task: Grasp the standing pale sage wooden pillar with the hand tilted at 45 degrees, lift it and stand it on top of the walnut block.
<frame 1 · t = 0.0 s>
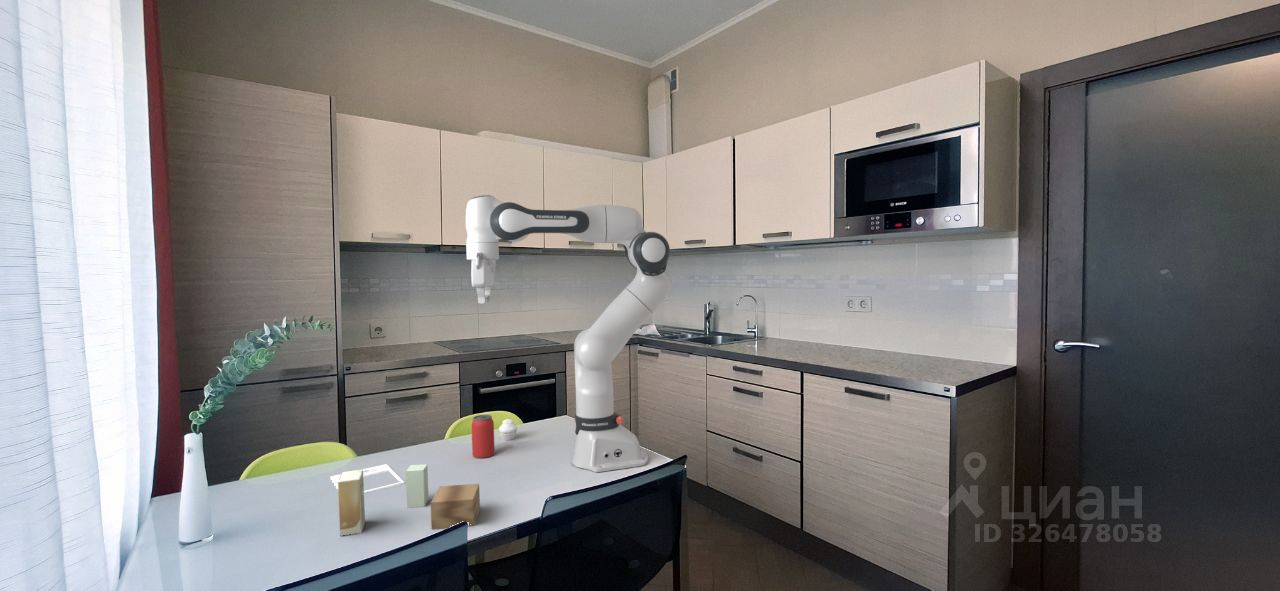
hand: (484, 302, 151), 48 cm above the table, tool pointing down, fingers open, 8 cm apart
walnut block: (456, 518, 122), on the table
sage pillar: (418, 503, 131), on the table
muffin: (508, 439, 180), on the table
photo frame: (366, 483, 146), on the table
beer can: (483, 455, 165), on the table
skincare box: (353, 529, 118), on the table
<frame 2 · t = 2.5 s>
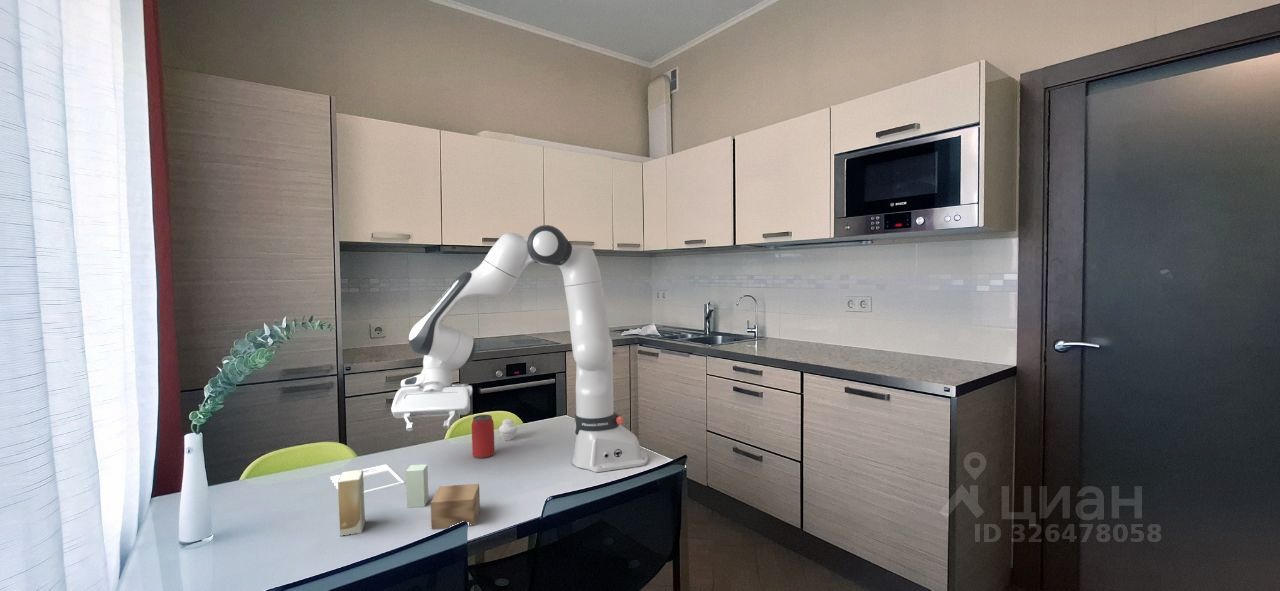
hand: (428, 429, 142), 15 cm above the table, tool tilted 45°, fingers open, 8 cm apart
nothing on the table moved.
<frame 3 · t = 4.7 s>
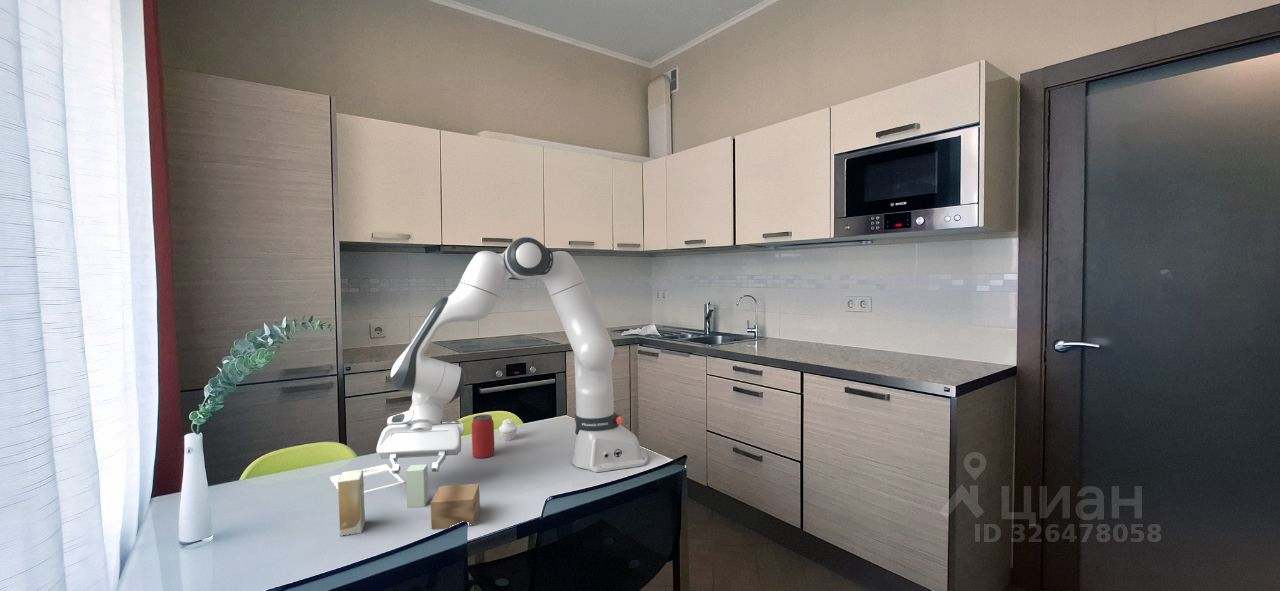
hand: (415, 471, 132), 7 cm above the table, tool tilted 45°, fingers open, 8 cm apart
nothing on the table moved.
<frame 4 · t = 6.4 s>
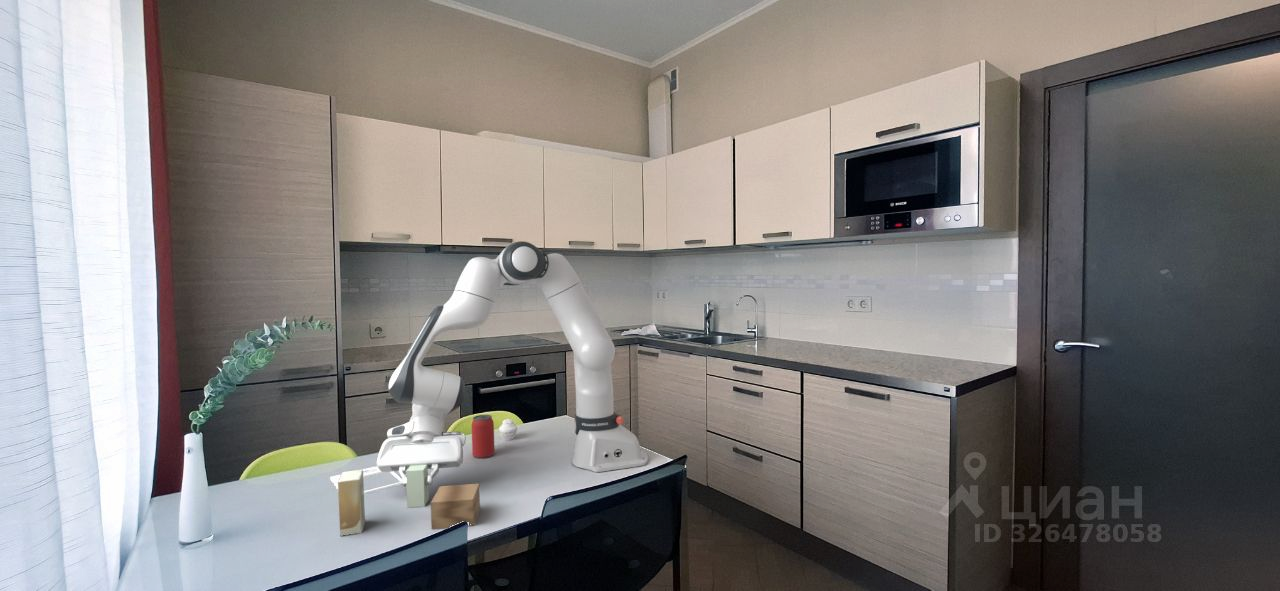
hand: (416, 485, 130), 5 cm above the table, tool tilted 45°, fingers closed on sage pillar, 4 cm apart
sage pillar: (418, 503, 131), on the table, touching gripper
everything else where it was.
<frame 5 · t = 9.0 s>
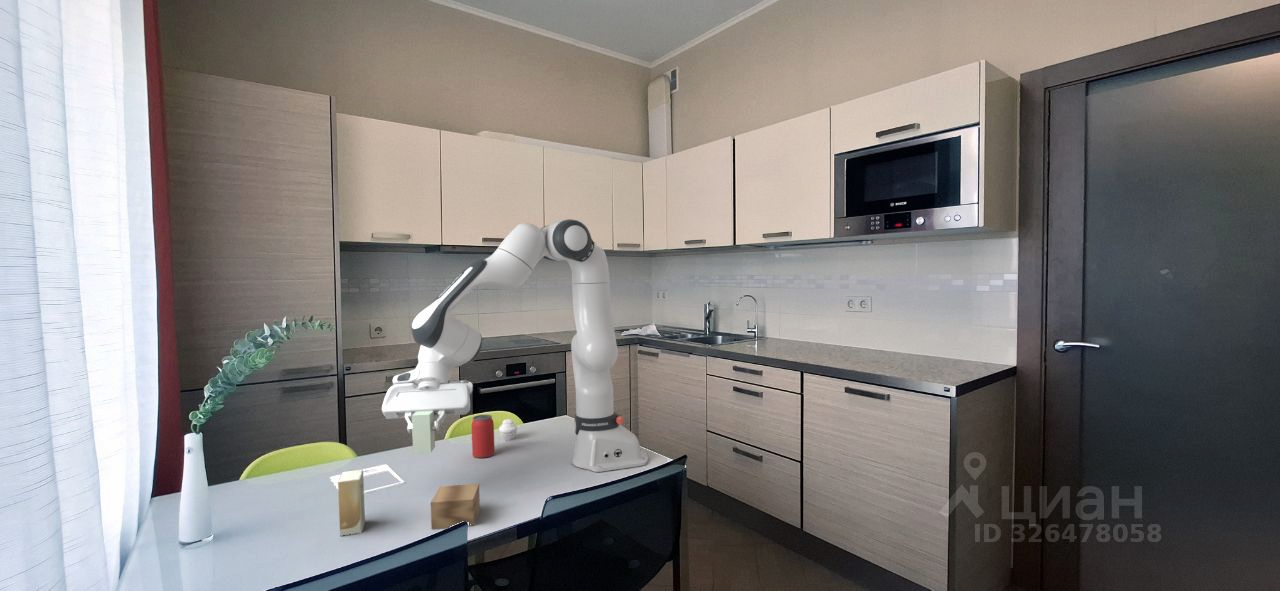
hand: (422, 430, 126), 19 cm above the table, tool tilted 45°, fingers closed on sage pillar, 4 cm apart
sage pillar: (424, 450, 127), point 14 cm above the table, touching gripper
everything else where it was.
when the fingers open (12 cm above the table, at t = 11.8 s): sage pillar stays where it is, resting on walnut block.
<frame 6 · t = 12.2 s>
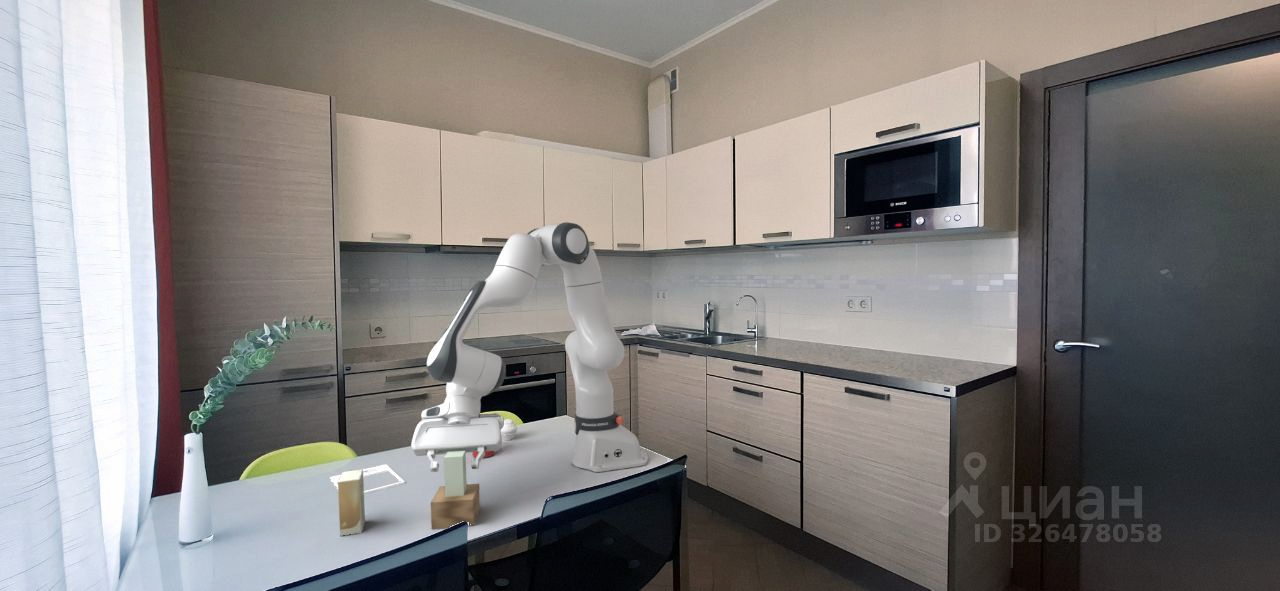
hand: (454, 469, 121), 12 cm above the table, tool tilted 45°, fingers open, 8 cm apart
sage pillar: (456, 492, 122), point 6 cm above the table, touching walnut block
everything else where it was.
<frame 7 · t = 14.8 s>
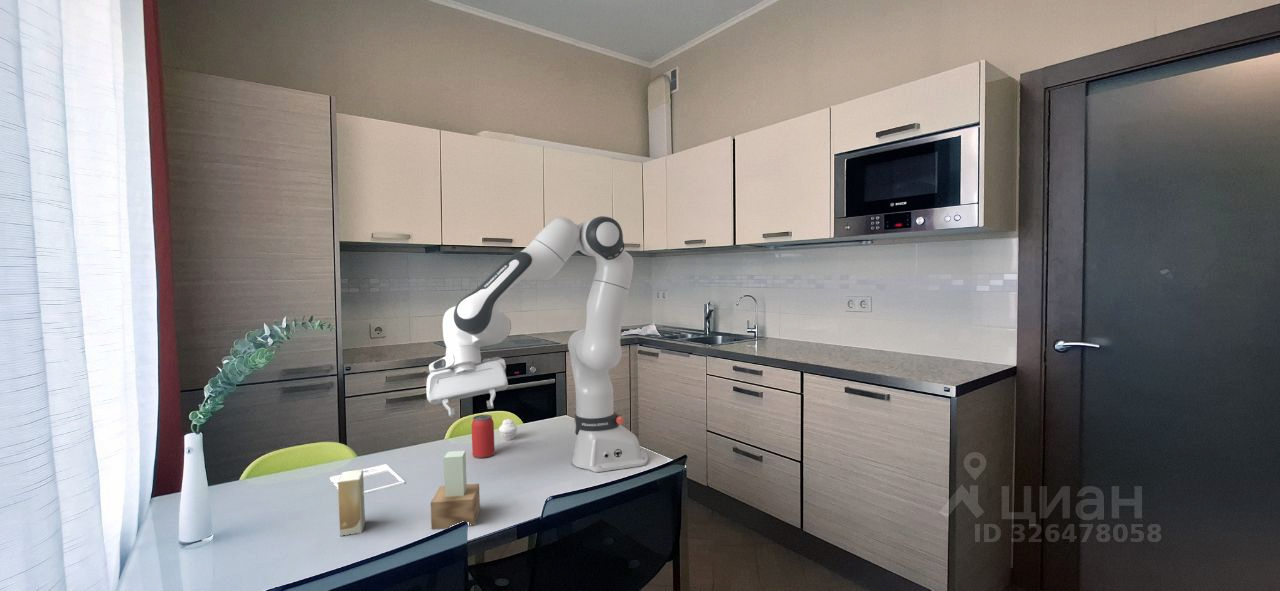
hand: (471, 412, 136), 21 cm above the table, tool tilted 35°, fingers open, 8 cm apart
nothing on the table moved.
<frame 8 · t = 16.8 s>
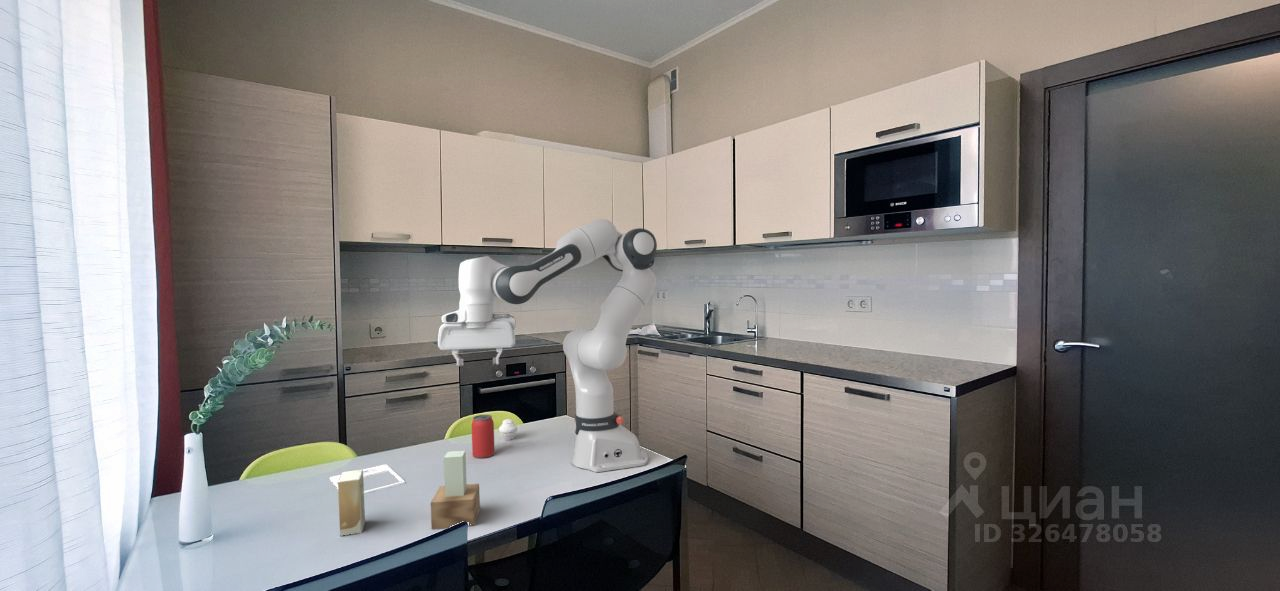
hand: (478, 365, 146), 31 cm above the table, tool pointing down, fingers open, 8 cm apart
nothing on the table moved.
at the end: sage pillar inside the target area on the walnut block (0.1 cm from its centre), point 6.0 cm above the walnut block's base; sage pillar tilted 0°; the gripper is holding nothing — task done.
